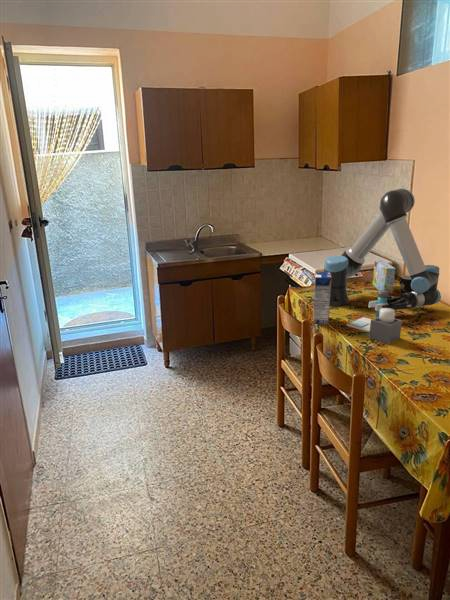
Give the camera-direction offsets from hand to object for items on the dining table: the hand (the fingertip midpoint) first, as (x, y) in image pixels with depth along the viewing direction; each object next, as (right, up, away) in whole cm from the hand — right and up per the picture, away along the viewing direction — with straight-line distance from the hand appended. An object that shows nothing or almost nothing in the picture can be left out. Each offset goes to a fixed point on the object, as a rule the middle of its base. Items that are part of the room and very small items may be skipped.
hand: (372, 306), depth 206 cm
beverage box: (-23, -7, +3) cm, 24 cm away
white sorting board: (-3, -9, -4) cm, 10 cm away
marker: (+5, -6, +4) cm, 9 cm away
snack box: (+22, +9, +50) cm, 55 cm away
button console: (-1, -13, -18) cm, 22 cm away
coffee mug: (+32, +6, +41) cm, 52 cm away
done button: (-1, -6, -20) cm, 21 cm away
